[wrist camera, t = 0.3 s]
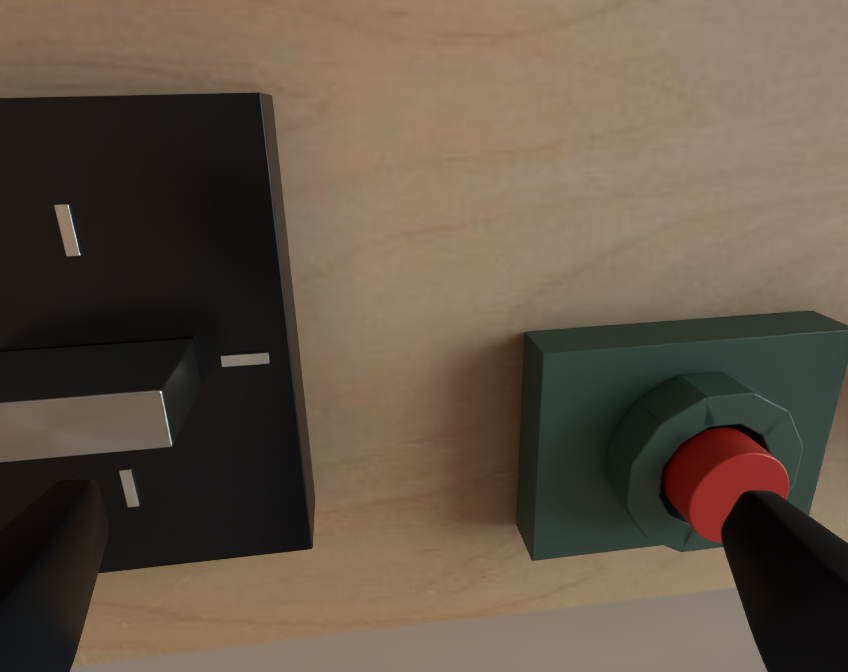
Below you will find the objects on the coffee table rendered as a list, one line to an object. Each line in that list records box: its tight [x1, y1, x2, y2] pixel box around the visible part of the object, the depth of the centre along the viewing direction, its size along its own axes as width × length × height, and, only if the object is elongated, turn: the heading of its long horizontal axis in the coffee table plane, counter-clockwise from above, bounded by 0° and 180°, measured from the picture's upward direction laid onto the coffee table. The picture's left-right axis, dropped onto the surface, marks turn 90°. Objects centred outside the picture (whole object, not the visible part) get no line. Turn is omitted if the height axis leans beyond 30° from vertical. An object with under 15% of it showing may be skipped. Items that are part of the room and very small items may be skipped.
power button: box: [663, 427, 789, 543], centre depth 21 cm, size 4×4×2 cm
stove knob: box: [0, 339, 201, 462], centre depth 16 cm, size 6×2×4 cm, turn 91°
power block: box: [517, 311, 848, 561], centre depth 23 cm, size 12×9×4 cm
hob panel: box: [0, 93, 315, 573], centre depth 19 cm, size 15×11×3 cm
